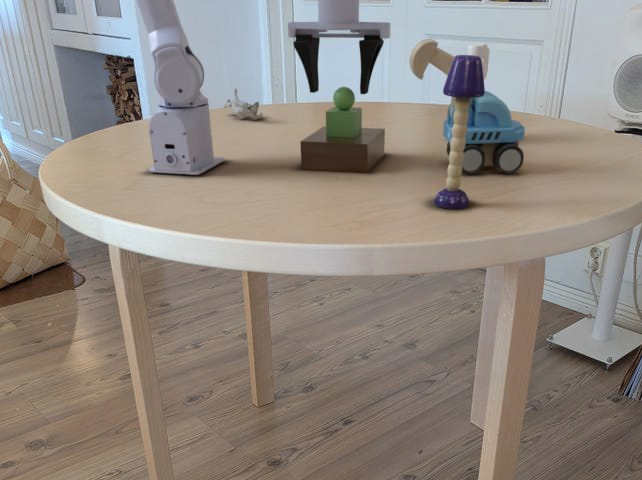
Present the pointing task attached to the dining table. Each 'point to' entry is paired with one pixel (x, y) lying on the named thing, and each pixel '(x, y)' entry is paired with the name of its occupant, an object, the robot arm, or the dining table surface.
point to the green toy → (344, 115)
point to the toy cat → (243, 108)
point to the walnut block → (343, 151)
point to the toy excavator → (476, 119)
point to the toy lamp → (460, 123)
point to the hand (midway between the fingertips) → (339, 92)
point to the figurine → (480, 55)
